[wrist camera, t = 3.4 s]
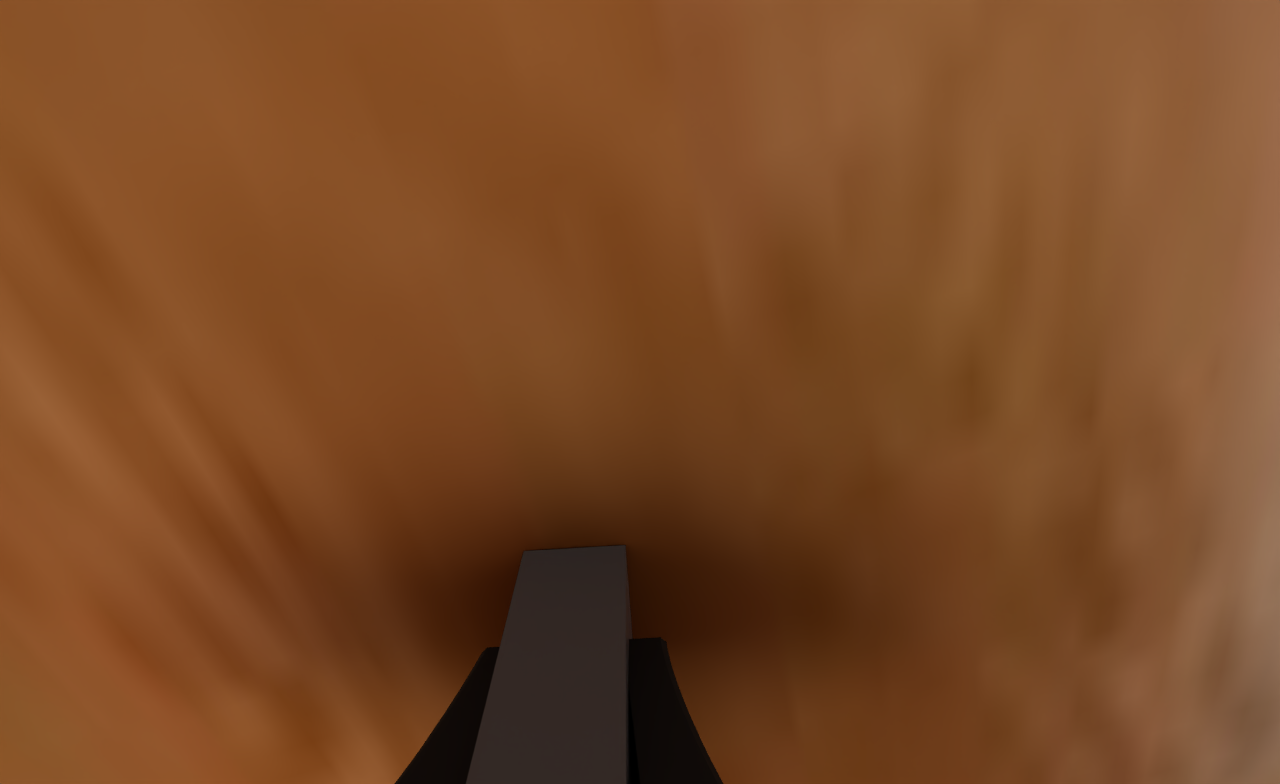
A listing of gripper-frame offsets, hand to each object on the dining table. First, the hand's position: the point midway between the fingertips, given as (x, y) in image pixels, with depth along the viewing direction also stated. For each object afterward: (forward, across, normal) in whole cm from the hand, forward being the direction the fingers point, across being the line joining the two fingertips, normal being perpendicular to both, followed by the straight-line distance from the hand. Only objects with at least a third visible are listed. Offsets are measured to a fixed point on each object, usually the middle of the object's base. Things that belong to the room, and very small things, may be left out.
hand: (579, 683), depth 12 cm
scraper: (+1, 0, +8) cm, 8 cm away
